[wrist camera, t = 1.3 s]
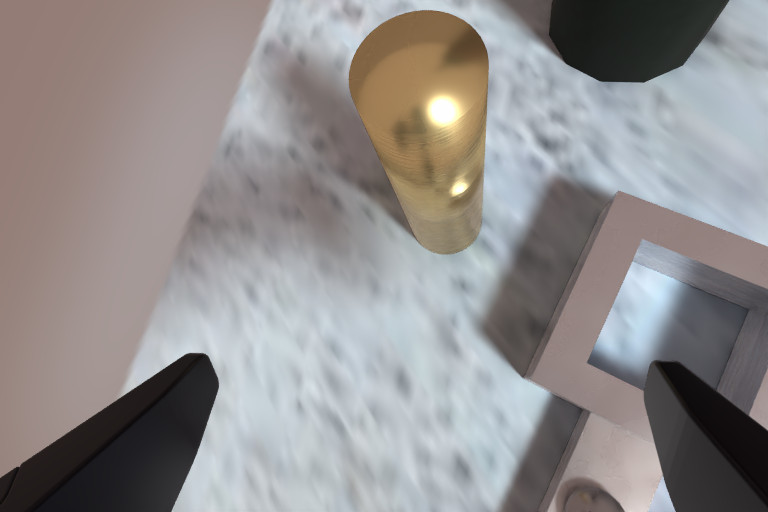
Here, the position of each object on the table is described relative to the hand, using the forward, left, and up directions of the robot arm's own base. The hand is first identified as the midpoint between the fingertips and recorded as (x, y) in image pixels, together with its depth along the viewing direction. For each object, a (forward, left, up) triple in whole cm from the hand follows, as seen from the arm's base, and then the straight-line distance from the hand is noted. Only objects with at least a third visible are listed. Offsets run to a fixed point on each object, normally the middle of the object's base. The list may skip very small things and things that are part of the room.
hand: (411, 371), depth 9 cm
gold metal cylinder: (+7, +3, -13) cm, 15 cm away
